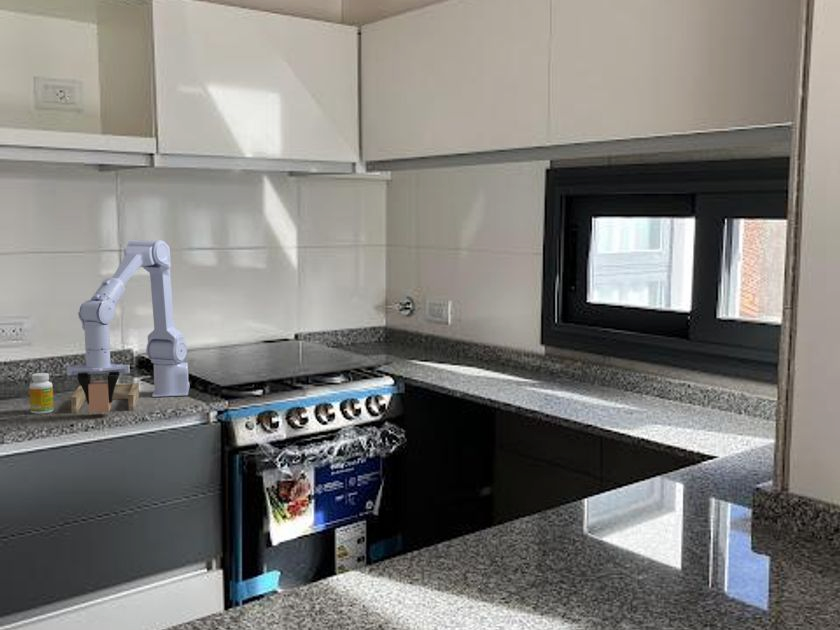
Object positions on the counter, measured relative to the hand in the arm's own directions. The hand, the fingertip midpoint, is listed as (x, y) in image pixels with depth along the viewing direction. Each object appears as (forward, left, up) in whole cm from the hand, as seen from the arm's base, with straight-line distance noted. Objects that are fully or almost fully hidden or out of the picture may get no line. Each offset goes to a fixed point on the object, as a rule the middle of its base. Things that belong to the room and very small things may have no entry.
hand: (99, 402), depth 217 cm
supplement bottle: (+15, -8, -4) cm, 17 cm away
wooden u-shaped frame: (0, -13, -3) cm, 13 cm away
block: (0, 0, -2) cm, 2 cm away
